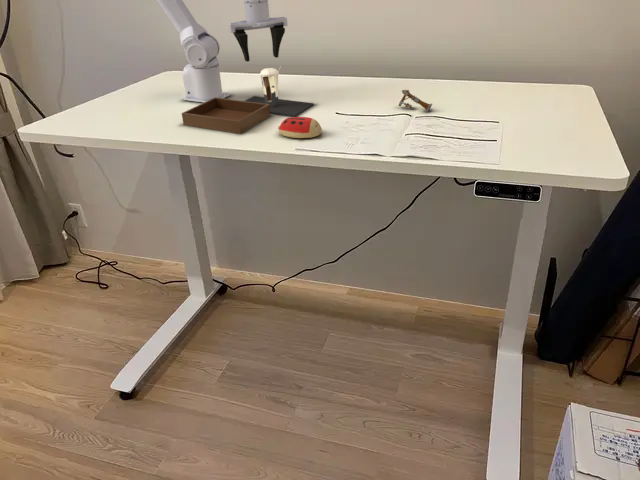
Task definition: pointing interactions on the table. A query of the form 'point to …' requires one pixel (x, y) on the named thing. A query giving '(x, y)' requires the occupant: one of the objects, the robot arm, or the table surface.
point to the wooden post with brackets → (415, 99)
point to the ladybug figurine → (300, 127)
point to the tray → (226, 115)
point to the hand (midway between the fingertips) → (261, 58)
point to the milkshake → (270, 85)
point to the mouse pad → (284, 106)
